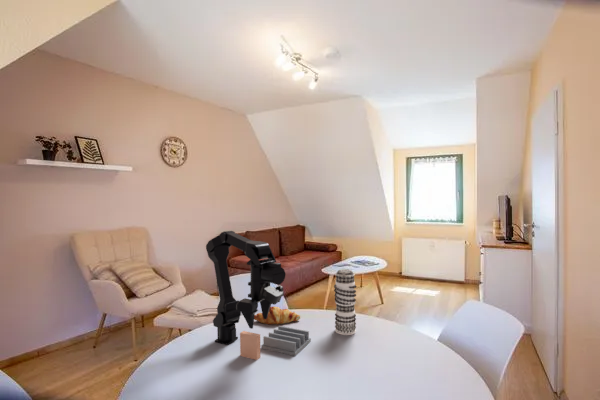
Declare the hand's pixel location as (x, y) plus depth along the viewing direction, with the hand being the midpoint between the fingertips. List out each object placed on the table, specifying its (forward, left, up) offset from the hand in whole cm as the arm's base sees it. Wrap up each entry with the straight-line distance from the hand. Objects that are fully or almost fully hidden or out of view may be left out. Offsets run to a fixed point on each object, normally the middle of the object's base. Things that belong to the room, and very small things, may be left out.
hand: (258, 323), depth 114 cm
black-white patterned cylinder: (+21, +33, -12) cm, 41 cm away
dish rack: (+5, +12, -11) cm, 17 cm away
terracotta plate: (-2, -2, -11) cm, 12 cm away
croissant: (-10, +30, -12) cm, 34 cm away
